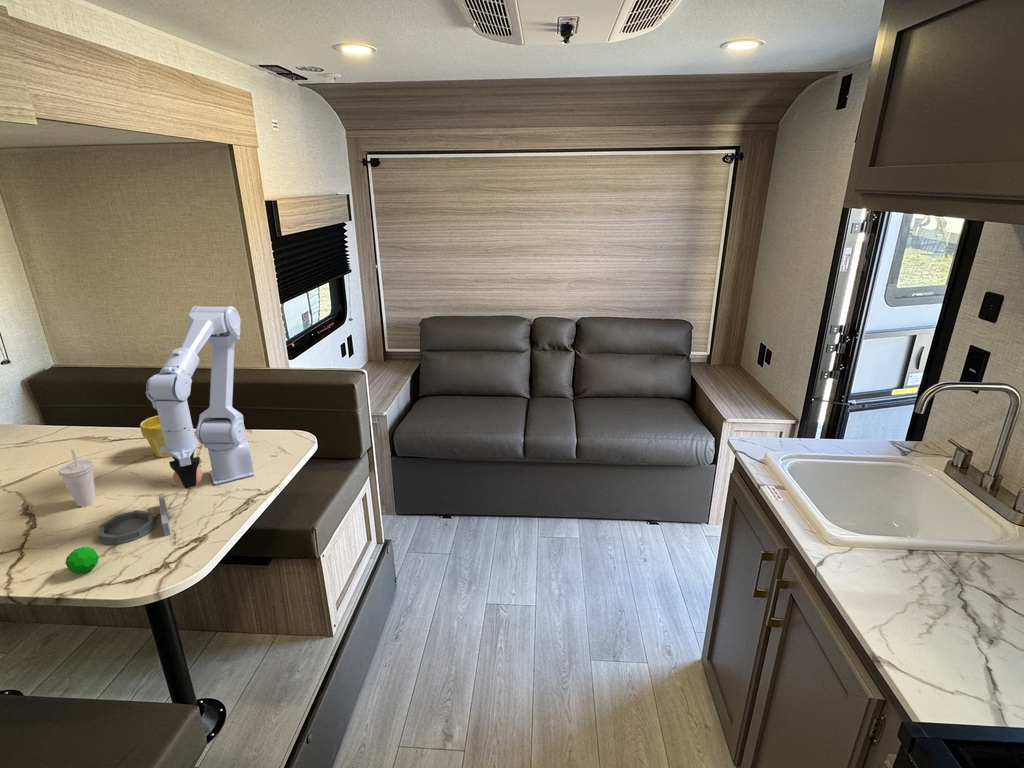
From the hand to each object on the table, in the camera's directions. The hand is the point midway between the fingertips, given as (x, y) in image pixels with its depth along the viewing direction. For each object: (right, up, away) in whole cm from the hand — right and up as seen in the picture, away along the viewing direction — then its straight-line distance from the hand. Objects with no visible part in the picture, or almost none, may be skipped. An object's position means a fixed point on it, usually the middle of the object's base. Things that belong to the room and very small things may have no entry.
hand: (189, 480), depth 120 cm
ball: (0, -1, 0) cm, 1 cm away
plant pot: (-24, +3, +30) cm, 38 cm away
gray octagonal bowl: (-11, -10, -4) cm, 15 cm away
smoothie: (-28, -6, +5) cm, 29 cm away
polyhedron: (-10, -15, -16) cm, 24 cm away
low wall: (-5, -9, 0) cm, 10 cm away
